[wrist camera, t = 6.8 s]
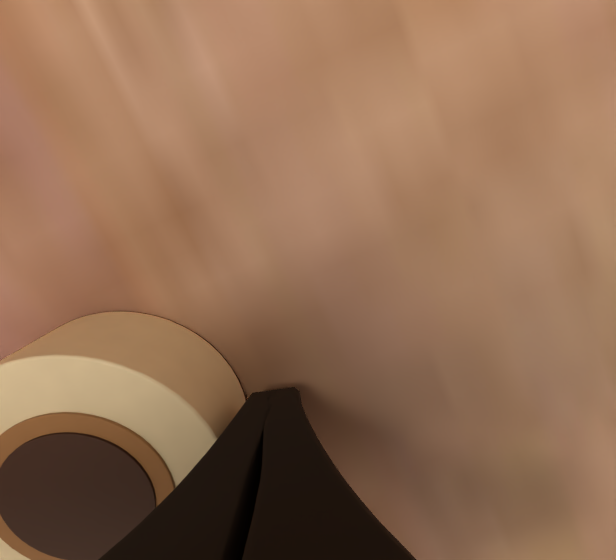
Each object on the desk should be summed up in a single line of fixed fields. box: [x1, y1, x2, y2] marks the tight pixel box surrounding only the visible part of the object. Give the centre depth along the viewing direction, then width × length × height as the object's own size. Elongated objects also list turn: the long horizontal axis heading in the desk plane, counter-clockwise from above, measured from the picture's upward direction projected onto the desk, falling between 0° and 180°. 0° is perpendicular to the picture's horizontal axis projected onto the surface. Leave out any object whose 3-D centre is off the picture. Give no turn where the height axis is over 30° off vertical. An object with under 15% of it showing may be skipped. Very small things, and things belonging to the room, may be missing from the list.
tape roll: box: [0, 311, 246, 560], centre depth 9 cm, size 6×6×3 cm
